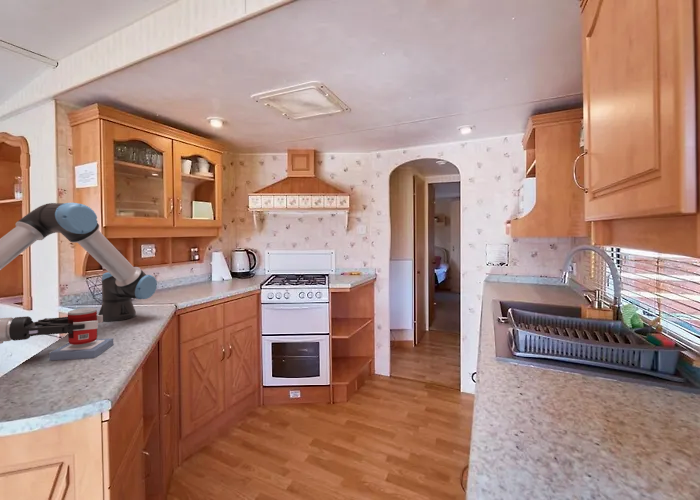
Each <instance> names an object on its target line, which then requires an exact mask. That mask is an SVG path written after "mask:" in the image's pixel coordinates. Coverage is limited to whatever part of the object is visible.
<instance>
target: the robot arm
mask: <svg viewBox="0 0 700 500" xmlns="http://www.w3.org/2000/svg"><path fill="white" fill-rule="evenodd" d="M97 219H98V216H97V213H96V212H95V211H94V210H93V209H92V208H91V207H90V206H88V205H87V204H82V203H79V202H78V203H77V202H64V203H63V202H50V203H45V204H42V205H40V206H38V207H36V208H34V209H33V210H31V211H30V212H29V213H27V214H25V215H24V216H23V217H22V218H21V219H19V220H18V221H16V222H15V227H13V228H12V229H11V230H10V231H8V232H7V233H6V234H4V235H3V236H2V237H1V238H0V271H1V270H3V268H5V267H6V266H7V265H9V264H10V263H11V262H13V260H15V259H16V258H17V257H18V256H19V255H21V254H22V253H24V252H25V251H26V250H27V249H28V248H29V247H31V246H32V245H34V243H36V242H37V241H43V240H45V238H46V237H48V236H50V235H52V234H55V233H56V234H57V233H59V234H61V235H62V236H63V237H65V238H66V240H68V241H69V242H70V243H74V244H76V243H77V244H78V245H80V247H82V248H83V249H84V251H85V252H87V253H88V254H89V255H90V256H91V257H92V258H93V259H94V260H95V261H96V262H97V263H98V264H99V265H100V266H101V267H102V268H104V270H106V272H104V273H102V275H101V276H102V277H101V292H102V293H101V296H102V299H101V300H102V304H101V306H100V310H99V312H98V313H97V321H86V322H74V323H73V325H72V324H68V316H62V317H61V316H60V317H51V318H50V317H48V318H47V317H46V318H42V319H38V320H37V321H33V318H32V317H30V316H16V317H12V316H11V317H2V318H1V317H0V345H1V344H3V343H4V342H10V341H25V340H28V339H30V338H31V337H35V336H45V335H46V336H47V335H49V336H50V335H61V334H62V335H63V334H64V335H65V334H68V332H69V334H72V333H73V332H72V330H73V331H78V330H89V329H97V330H98V328H99V325H98V324H101V323H103V322H118V321H124V320H129V319H132V318H135V317H136V316H137V313H136V312H137V311H136V308H135V306H134V304H133V301H132V299H133V300H134V299H136V300H148V299H149V298H151V297H152V296H153V295H154V294H155V293H156V290H157V287H158V281H157V279H156V277H155V276H153V275H152V274H146V273H145V271H143V270H142V268H141V267H139V266H133V265H132V263H130V262H129V260H127V258H126V257H125V256H124V255H123V254H122V253H121V252H120V251H119V250H118V249H117V248H116V247H115V246H114V245H113V243H112V242H110V241H109V240H108V238H107V237H106V236H104V234H103V233H102V232H101V231H100V230H99V229H100V224H99V223H98V220H97Z"/></svg>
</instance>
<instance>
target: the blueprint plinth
mask: <svg viewBox="0 0 700 500" xmlns="http://www.w3.org/2000/svg"><path fill="white" fill-rule="evenodd" d="M112 346H114V338H111V337H110V338H97V339H96V340H95V341H93V342H90V343H86V344H79V345H72V344H69V342H67V343H66V344H63V345H61V346H59V347H58V348H56V349H55V350H52V351H50V352H49V353H48V355H49V356H48V358H49V361H63V360H79V359H80V360H81V359H94V358H95V359H96V358H97V357H98V356H100V355H102V354H103V353H105V351H107V350H108V349H109V348H111V347H112Z"/></svg>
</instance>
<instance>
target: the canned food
mask: <svg viewBox="0 0 700 500" xmlns="http://www.w3.org/2000/svg"><path fill="white" fill-rule="evenodd" d="M97 310H98V309H97V308H95V307H86V308H85V307H83V308H77V309H72V310H69V311H67V317H68V324H72V325H73V323H74V322H86V321H97V315H98V311H97ZM72 332H73V333H72V334H69V332H68V333H67V337H68V340H67V342H68V343H69V344H72V345H79V344H86V343H90V342H93V341H95V340H96V339H98V328H97V329H89V330H78V331H73V330H72Z"/></svg>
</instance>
